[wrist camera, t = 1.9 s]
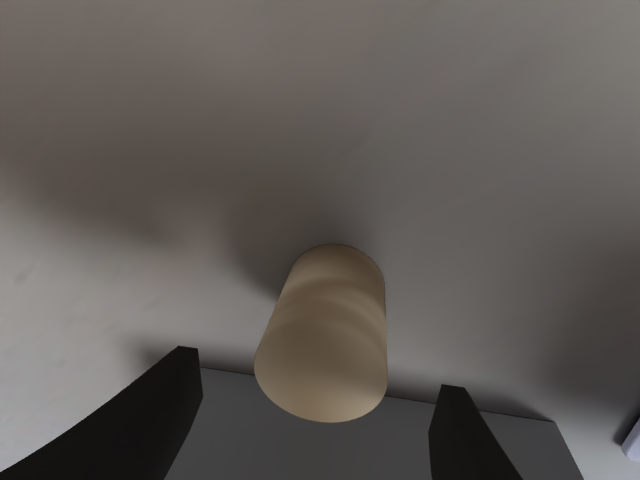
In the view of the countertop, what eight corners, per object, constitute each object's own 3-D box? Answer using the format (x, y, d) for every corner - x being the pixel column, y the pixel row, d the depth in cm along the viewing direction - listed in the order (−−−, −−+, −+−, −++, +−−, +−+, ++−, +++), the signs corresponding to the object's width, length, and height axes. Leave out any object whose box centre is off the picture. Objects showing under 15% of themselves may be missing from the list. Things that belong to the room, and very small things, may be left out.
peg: (392, 251, 15) (398, 334, 10) (377, 332, 16) (377, 431, 12) (289, 238, 15) (252, 312, 11) (287, 318, 17) (254, 410, 12)
